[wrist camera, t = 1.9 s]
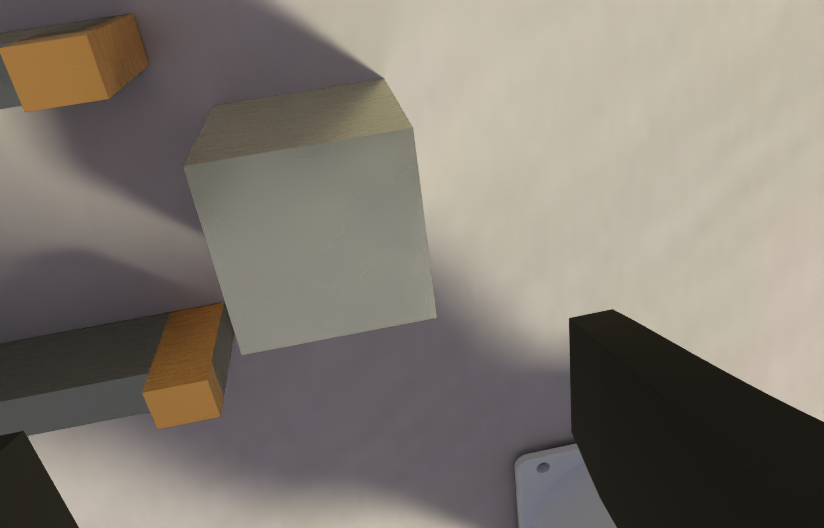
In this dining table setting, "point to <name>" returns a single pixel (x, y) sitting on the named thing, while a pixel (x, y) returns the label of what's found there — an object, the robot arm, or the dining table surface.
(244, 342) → the link block
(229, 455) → the dining table surface
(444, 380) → the dining table surface
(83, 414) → the keeper
